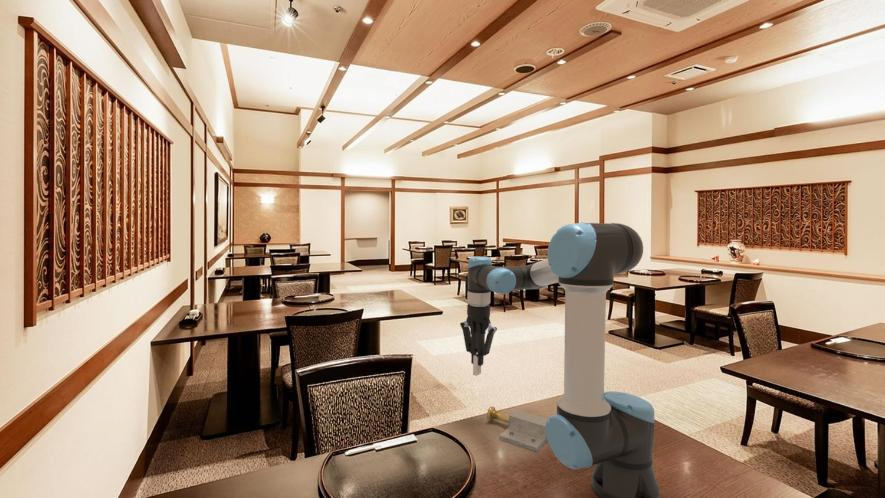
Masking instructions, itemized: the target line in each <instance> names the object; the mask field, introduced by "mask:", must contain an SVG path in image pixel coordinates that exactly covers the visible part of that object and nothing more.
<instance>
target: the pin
mask: <svg viewBox="0 0 885 498" xmlns="http://www.w3.org/2000/svg"><path fill="white" fill-rule="evenodd" d="M509 415H510V414H507V413H503V412H500V411H497V409H496V407H495V406H489V408H488V409H487V413H486V419H487V421H489V422H492V421H493V420H497V421H499V422H503V423H505V424H509Z"/></svg>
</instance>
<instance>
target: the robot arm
mask: <svg viewBox="0 0 885 498" xmlns="http://www.w3.org/2000/svg"><path fill="white" fill-rule="evenodd" d="M643 254H644V244H643V240H642V238H641V236H640V235H639V233H638V232H637V231H636V230H635V229H633V228H632V227H630V226H628V225H625V224H623V223H619V222H618V223H617V222H611V223H609V222H608V223H607V222H606V223H603V222H601V223H600V222H598V223H597V222H596V223H595V222H594V223H593V222H591V223H590V222H579V223H578V222H577V223H575V222H574V223H570V224H569V223H568V224H565V225H562V226H561V227H559V228H558V229H557V230H556V232H555V233H554V234H553V235H552V237H551V239H550V241H549V243H548V247H547V258H546V259H543V260H540V261H537V262H534V263H531V264H528V265H515V266H514V265H511V266H509V265H508V266H494V265H493V264H492V259H491V258H490V257H488V256H471V257H470V258H469V259H468V263H467V264H468V265H467V297H466V299H467V303H468V304H467V305H466V315H467V317H466V319H465V320H464V321H462V322H460V323H459V325H460V327H461V330H462V334H463V340H464V345H465V351H466V352H468V353H469V354H471V356H470V357H471V360H470V361H471V365H472V375H473V376H479V375H481V374H482V366H483V365H484V358H485V356H487V355H489V354H490V351H491V347H492V344H493V341H494V335H495V333H496V332H497V330H498V328H497V327H496V326H493V325H492V324H491V320H490V317H491V305H490V304H491V295H492V294H491V292H493V293H495V294H498V295H499V294H502V295H507V294H509V293H511V292H512V291H520V290H521V291H522V290H523V291H524V290H525V291H526V290H539V289H540V290H541V289H545V288H547V287H548V286H549V285H553V284H559V286H561V288H562V289H564V293H565V295H564V296H565V297H564V352H563V353H564V357H563V358H564V362H563V364H564V365H563V368H564V370H563V371H564V372H563V393H562V395H561V396H559V397H558V398H557V399H556V414H551V416H549V418H546V419H547V422H546V436H547V440H548V441H547V442H548V445H549V447H550V449H551V450H552V453H553V454H554V456H555V457H556V459H557V460H558V461H559V462H560V463H561V464H562V465H564V466H565V467H567V468H569V469H571V470H580V469H584V468H586V469H589V468H590V467H592V466H594V468H593V470H592V473H591V487H592V490H593V491H594V493H595V494H596V495H597V496H598V497H599V498H660V495H661V493H660V491H661V490H660V486H659V482H658V480H657V476H656V473H655V469H654V467H653V459H654V439H655V438H654V437H655V424H656V420H655V408H654V407H653V405H652V404H651V403H650V402H649V401H647V400H645V399H644V398H641V397H640V396H636V395H634V394H630V393H627V392H621V391H606V392H605V368H606V367H605V366H606V364H605V363H606V359H605V358H606V317H607V316H606V313H607V311H606V310H607V308H606V305H607V304H606V301H607V293H608V291H609V290H610V289H612V287H614V278H615V277H614V276H615V275H618V274H623V273H627V272H629V271H631V270H633V269H635V267H636V266H638V264H639V263H640V261H641V260H642V258H643V256H644V255H643ZM486 331H487V332H486ZM486 333H487V334H486ZM485 336H486V337H485Z"/></svg>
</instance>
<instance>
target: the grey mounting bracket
mask: <svg viewBox="0 0 885 498" xmlns="http://www.w3.org/2000/svg"><path fill="white" fill-rule="evenodd" d="M508 415H509V423H508V427H507V428H506V429H505V430H504V431H502V432H501V433H500V434H499V435H498V436H499V437H498V439H499V440H501V441H504V442H507V443H509V444H512V445H515V446H518V447H521V448H524V449H527V450H530V451H533V452H536V453H538V452H539V451H540V450H541V449H542V448H543V447H544V446H545V445H546V443H547V442H548V440H547V436H546V422H547V419H548V418H546V417H543V416H539V415H536V414H532V413H529V412H526V411H522V410H518V409H515V410H514V411H512V412H511V413H510V414H508Z"/></svg>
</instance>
